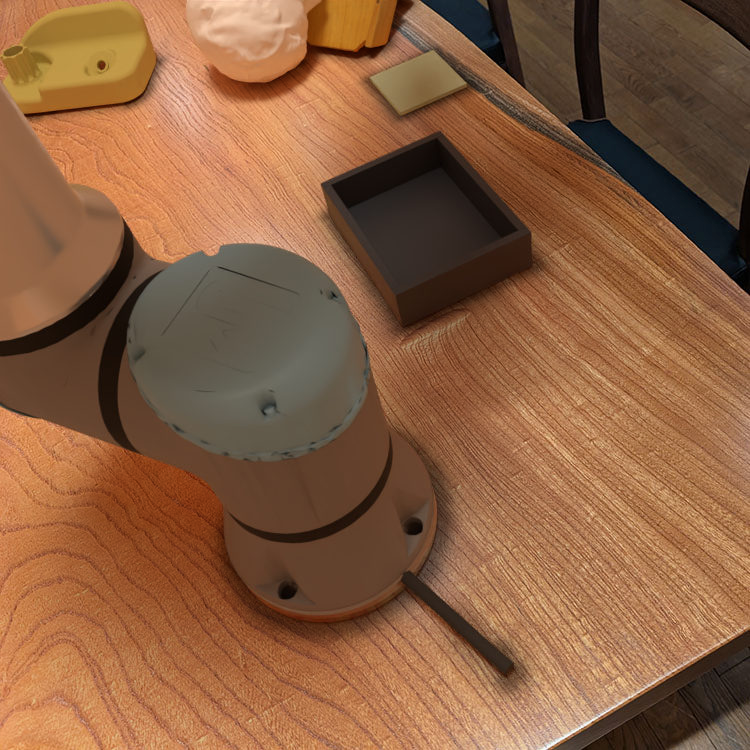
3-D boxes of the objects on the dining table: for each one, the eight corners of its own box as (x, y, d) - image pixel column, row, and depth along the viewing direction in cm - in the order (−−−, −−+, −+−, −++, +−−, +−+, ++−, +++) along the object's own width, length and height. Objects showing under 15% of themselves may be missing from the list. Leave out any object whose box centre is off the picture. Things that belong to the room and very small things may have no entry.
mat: (467, 87, 88) (467, 83, 87) (400, 116, 87) (399, 112, 86) (433, 53, 93) (433, 49, 92) (370, 80, 92) (369, 76, 91)
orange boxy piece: (370, 52, 93) (404, 74, 101) (390, -36, 91) (423, -7, 99) (294, 41, 97) (332, 63, 105) (311, -44, 95) (349, -15, 104)
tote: (532, 266, 71) (531, 231, 68) (402, 327, 70) (395, 295, 66) (445, 164, 81) (440, 129, 78) (329, 215, 80) (320, 183, 76)
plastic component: (139, 100, 97) (159, 55, 103) (114, 41, 91) (136, -3, 98) (-12, 118, 100) (16, 73, 107) (-46, 62, 95) (-14, 19, 101)
